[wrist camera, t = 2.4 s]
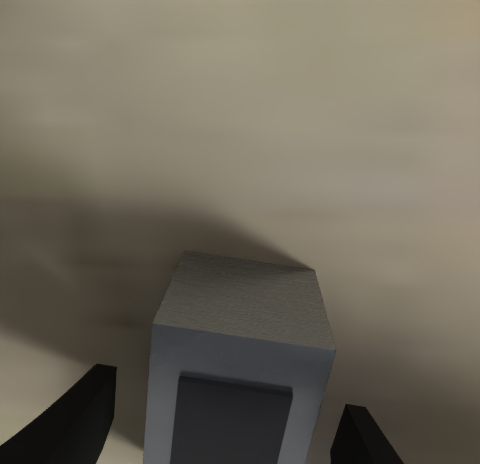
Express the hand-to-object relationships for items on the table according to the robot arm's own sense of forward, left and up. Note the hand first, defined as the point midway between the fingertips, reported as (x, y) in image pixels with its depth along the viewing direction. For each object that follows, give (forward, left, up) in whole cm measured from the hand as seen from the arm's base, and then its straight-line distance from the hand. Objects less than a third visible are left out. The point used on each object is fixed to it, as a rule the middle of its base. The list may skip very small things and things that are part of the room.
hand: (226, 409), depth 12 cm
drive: (0, 0, -2) cm, 2 cm away
